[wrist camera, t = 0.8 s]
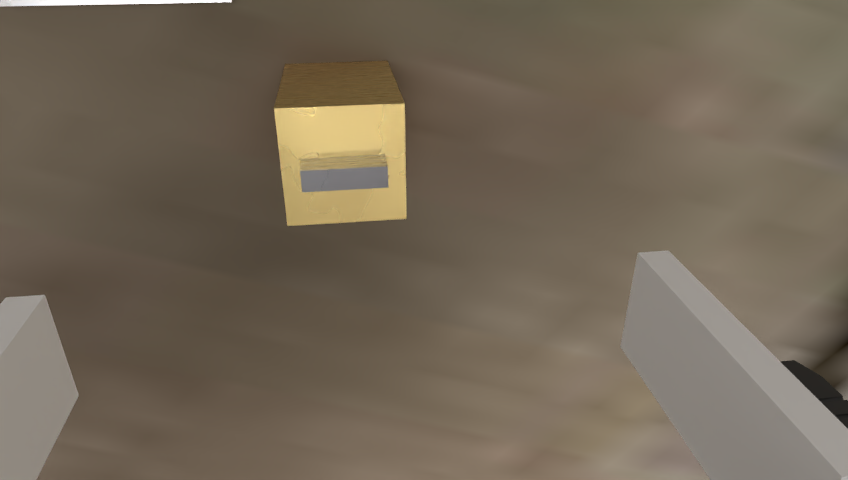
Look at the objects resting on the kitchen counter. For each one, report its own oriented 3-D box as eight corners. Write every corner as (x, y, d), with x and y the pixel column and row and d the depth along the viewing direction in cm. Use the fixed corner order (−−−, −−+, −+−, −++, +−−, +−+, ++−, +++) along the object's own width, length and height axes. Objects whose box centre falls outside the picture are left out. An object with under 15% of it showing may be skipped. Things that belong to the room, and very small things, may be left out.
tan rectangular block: (295, 160, 30) (285, 240, 22) (285, 63, 27) (271, 118, 20) (389, 155, 30) (410, 232, 23) (387, 60, 28) (408, 113, 21)
